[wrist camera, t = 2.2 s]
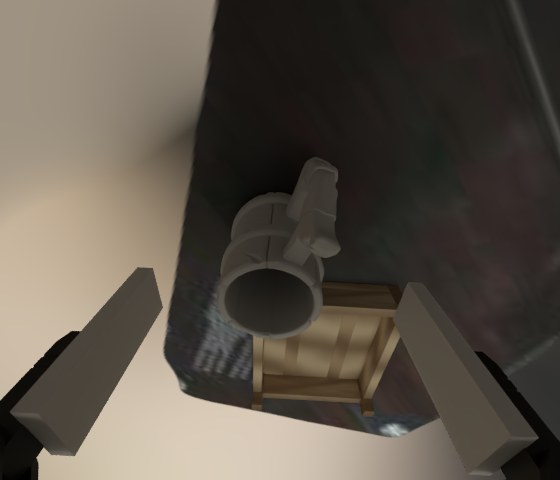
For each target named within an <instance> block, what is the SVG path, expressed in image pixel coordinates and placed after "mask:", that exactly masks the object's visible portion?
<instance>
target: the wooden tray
mask: <svg viewBox="0 0 560 480" xmlns="http://www.w3.org/2000/svg"><path fill="white" fill-rule="evenodd" d="M321 287H322V296H323V305H322V310H321V313H320V315H319V317H318V319H317V320H316V321H311V325H310V326H309V328H308V329H306V330H305V331H303V332H301V333H299V334H297V335H294V336H291V337H287V338H283V339H272V337H271V338H270V339H263V338H258V337H256V336H254V335H253V382H254V392H253V401H252V410H262V400H263V397H266V398H283V399H300V400H316V401H333V402H350V403H360V407H361V412H362V416H369V417H372V416H373V414H374V408H373V404H372V401H371V398H372V396H373V393H374V391H375V389H376V387H377V385H378V383H379V381H380V378H381V376H382V374H383V372H384V370H385V368H386V366H387V363H388V361H389V359H390V357H391V355H392V353H393V351H394V349H395V346H396V344H397V342H398V340H399V338H400V334H399V332H398V330H397V328H396V326H395V324H394V322H393V318H394V315H395V313H396V310H397V308H398V305H399V303H400V300H401V298H402V295H403V294H402V293H401V291H400V289H399V287H398V286H390V285H373V284H357V283H341V282H324V281H322V282H321Z"/></svg>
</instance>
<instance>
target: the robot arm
mask: <svg viewBox="0 0 560 480" xmlns="http://www.w3.org/2000/svg"><path fill="white" fill-rule="evenodd" d="M162 308H163V306H162V302H161V299H160V295H159V291H158V287H157V283H156V279H155V275H154V271H153V268H139V267H138V268H137V269H136V270H135V271H134V272H133V273H132V275H131V276H130V277H129V278H128V279H127V280H126V281H125V282H124V283H123V285H122V286H121V287H120V288H119V289H118V290H117V291H116V292H115V294H114V295H113V296H112V297H111V298H110V299H109V300H108V301H107V303H106V304H105V305H104V306H103V307H102V308H101V309H100V310H99V312H98V313H97V314H96V315H95V316H94V317H93V319H92V320H91V321H90V322H89V323H88V324H87V325H86V326H85V327H84V329H83V330H82V331H80V332H79V331H71V332H70V333H69V334H67V335H65V336H64V337H62V338H61V339H60V340H58V341H57V342H56V343H55V344H54V345H53V346H52V347H51V348H50V349H49V350H48V351H47V352H46V353H45V354H44V357H42V358H40V360H38V362H37V363H36V364H35V365H34V367H33V368H31V369H30V370H29V371H28V372H27V373H26V374H25V375H24V376H23V377H22V378H21V380H19V382H18V383H17V384H16V385H15V386H14V387H13V388H12V389H11V390H10V391H9V392H8V393H7V394H6V395H5V396H4V397H3V398H2V399H1V400H0V480H38V461H37V458H36V457H37V456H38V455H39V453H40V451H41V450H42V449H43V447H44V448H45V449H46V450H47V451H48V452H49V453H50V454H51V455H65V456H75V455H76V453H77V451H78V449H79V448H80V446H81V444H82V443H83V441H84V439H85V438H86V436H87V434H88V433H89V431H90V429H91V428H92V426H93V424H94V423H95V421H96V419H97V418H98V416H99V414H100V412H101V411H102V409H103V407H104V406H105V404H106V402H107V401H108V399H109V397H110V396H111V394H112V392H113V390H114V389H115V387H116V386H117V384H118V382H119V380H120V379H121V377H122V375H123V374H124V372H125V370H126V369H127V367H128V365H129V364H130V362H131V360H132V359H133V357H134V355H135V353H136V352H137V350H138V348H139V346H140V345H141V343H142V342H143V340H144V338H145V337H146V335H147V333H148V332H149V330H150V328H151V326H152V325H153V323H154V321H155V320H156V318H157V316H158V315H159V313H160V311H161V310H162ZM393 322H394V324H395V326H396V328H397V330H398V332H399V334H400V336H401V338H402V340H403V342H404V344H405V346H406V348H407V350H408V352H409V354H410V356H411V358H412V360H413V362H414V365H415V367H416V369H417V371H418V373H419V375H420V377H421V379H422V381H423V383H424V385H425V387H426V389H427V391H428V393H429V395H430V397H431V399H432V401H433V403H434V405H435V407H436V409H437V411H438V414H439V416H440V418H441V420H442V422H443V424H444V426H445V427H446V430H447V432H448V434H449V436H450V438H451V440H452V442H453V444H454V446H455V448H456V450H457V452H458V454H459V456H460V458H461V460H462V462H463V464H464V467H465V469H466V471H467V473H468V474H469V475H492V474H493V473H495V472H496V471H497V470H498V469H500V468H501V470H502V472H503V473H504V475H505V477H506V480H560V442H559V440H558V439H557V438H556V437H555V436H554V435H553V433H552V432H551V431H550V430H549V429H548V427H547V426H546V425H545V423H544V422H543V421H542V420H541V418H540V417H539V416H538V415H537V413H536V412H535V411H534V410H533V408H532V407H531V406H530V405H529V404H528V402H527V401H526V400H525V399H524V397H523V396H522V395H521V393H520V392H517V388H516V387H515V386H514V385H513V384H512V382H511V381H510V380H508V377H507V376H506V375H505V374H504V372H503V371H502V370H501V369H500V367H499V366H498V365H497V364H496V363H495V362H494V361H493V360H492V359H490V358H489V357H488V356H487V355H486V354H484V353H483V352H476V351H473V350H472V348H471V347H470V346H469V344H468V343H467V342H466V340H465V339H464V338H463V336H462V335H461V334H460V332H459V331H458V330H457V328H456V327H455V326H454V324H453V323H452V322H451V320H450V319H449V318H448V316H447V315H446V314H445V312H444V311H443V310H442V308H441V307H440V306H439V304H438V303H437V302H436V300H435V299H434V298H433V296H432V295H431V294H430V292H429V291H428V290H427V288H426V287H425V286H424V284H423V283H411V282H408V283H407V286H406V288H405V291H404V293H403V295H402V298H401V300H400V303H399V305H398V308H397V310H396V313H395V315H394V318H393Z"/></svg>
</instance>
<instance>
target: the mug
mask: <svg viewBox="0 0 560 480" xmlns="http://www.w3.org/2000/svg"><path fill="white" fill-rule="evenodd" d="M337 181H338V170H337V168H336V167H334V166H332V165H331V164H330V163H328V162H327V161H325V160H323V159H320V158H318V157H313V158H311V159H309V160H308V161H306V163H305V165H304V167H303V169H302V171H301V174H300V177H299V179H298V182H297V185H296V187H295V190H294V192H293V194H292V195H289V194H286V193H281V192H276V193H274V192H269V193H267V194H266V195H259V196H257V197H255V198H253V199H252V200H250V201H249V202H247V203H246V204H245V205H244V206H243V207H242V208H241V209H240V210H239V212H238V213H237V215H236V217H235V219H234V221H233V225H232V233H231V239H232V242H231V243H230V244H229V246H228V247H227V249H226V251H225V253H224V256H223V258H222V263H221V270H220V272H221V278H220V281H219V285H218V289H217V305H218V308H219V311H220V313H221V315H222V317H223V319H224V320H225V321H226V322H228V324H230V325H231V326H233V327H235V328H236V329H237V330H242V331H245V332H248V333H249V334H251V335H254V336H256V337H258V338H263V339H270V338H271V337H272V339H283V338H287V337H291V336H294V335H297V334H299V333H301V332H303V331H305V330H306V329H308V328H309V326H310V325H311V321H316V320H317V319H318V317H319V315H320V313H321V310H322V305H323V296H322V287H321V282H322V279H323V276H324V266H323V263H322V259H321V257H324V258H327V257H331V256H333V255H336V254H337V253H338V252H339V251H340V249H341V248H340V245H339V243H338V241H337V239H336V236H335V225H334V222H335V221H336V201H337V196H338V191H337V189H336V182H337Z"/></svg>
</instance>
